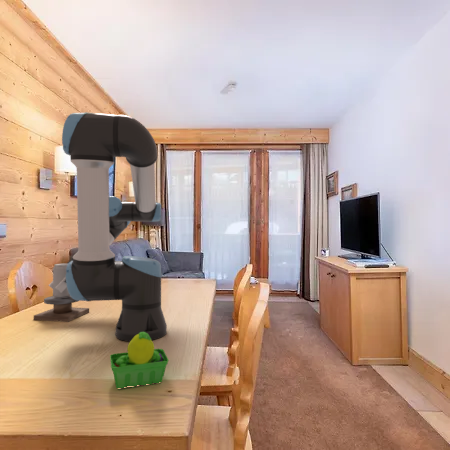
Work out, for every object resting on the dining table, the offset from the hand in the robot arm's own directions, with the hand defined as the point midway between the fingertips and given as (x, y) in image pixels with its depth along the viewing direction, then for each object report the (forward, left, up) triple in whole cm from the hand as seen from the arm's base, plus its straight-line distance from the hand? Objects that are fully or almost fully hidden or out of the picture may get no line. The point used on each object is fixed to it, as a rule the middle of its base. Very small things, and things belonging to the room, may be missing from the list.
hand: (54, 288), depth 118 cm
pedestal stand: (+2, -2, -10) cm, 11 cm away
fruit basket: (-42, -50, -10) cm, 66 cm away
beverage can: (+2, -1, -4) cm, 5 cm away
